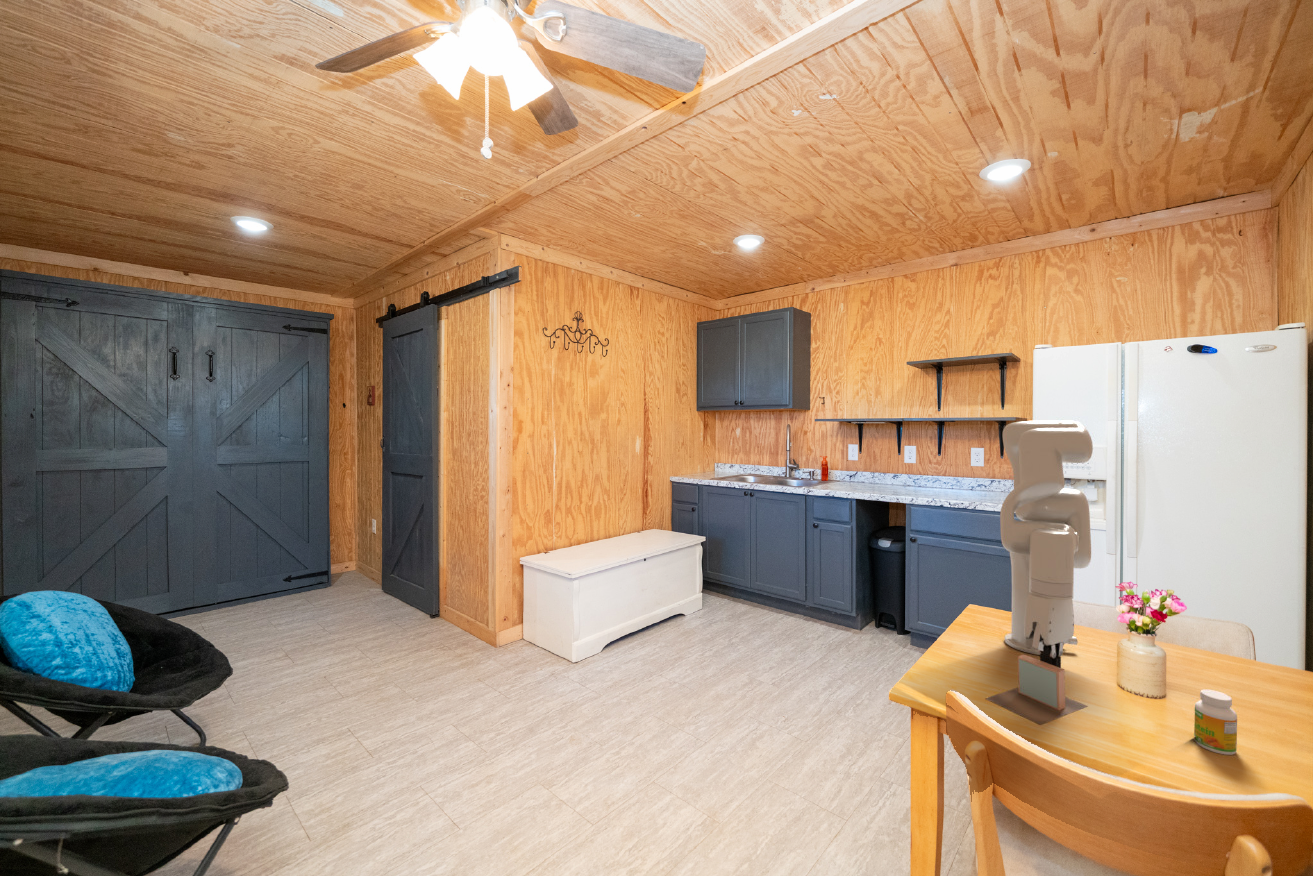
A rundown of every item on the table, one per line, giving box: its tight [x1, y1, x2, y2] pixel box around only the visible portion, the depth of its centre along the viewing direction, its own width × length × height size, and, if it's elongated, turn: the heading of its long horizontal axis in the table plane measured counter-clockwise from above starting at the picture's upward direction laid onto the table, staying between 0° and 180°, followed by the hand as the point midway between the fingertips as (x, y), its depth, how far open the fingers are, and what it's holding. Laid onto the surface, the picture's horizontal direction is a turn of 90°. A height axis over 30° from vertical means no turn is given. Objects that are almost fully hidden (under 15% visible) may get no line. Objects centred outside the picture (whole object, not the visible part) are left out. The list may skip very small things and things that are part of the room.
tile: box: [1017, 654, 1066, 710], centre depth 112 cm, size 2×8×8 cm, turn 24°
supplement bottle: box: [1193, 688, 1238, 756], centre depth 98 cm, size 5×5×10 cm
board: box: [984, 686, 1088, 726], centre depth 111 cm, size 16×11×1 cm
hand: (1050, 673), depth 113 cm, fingers closed
